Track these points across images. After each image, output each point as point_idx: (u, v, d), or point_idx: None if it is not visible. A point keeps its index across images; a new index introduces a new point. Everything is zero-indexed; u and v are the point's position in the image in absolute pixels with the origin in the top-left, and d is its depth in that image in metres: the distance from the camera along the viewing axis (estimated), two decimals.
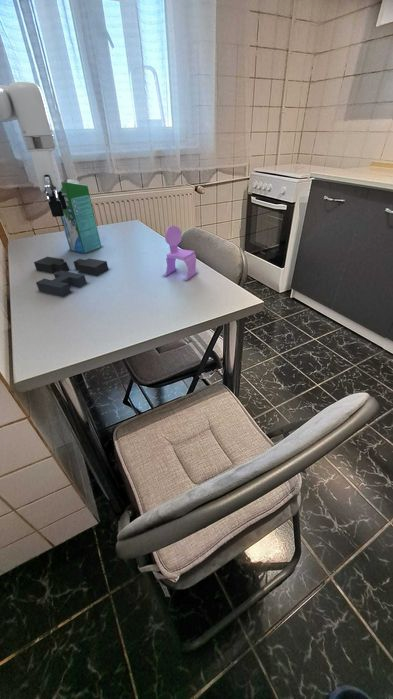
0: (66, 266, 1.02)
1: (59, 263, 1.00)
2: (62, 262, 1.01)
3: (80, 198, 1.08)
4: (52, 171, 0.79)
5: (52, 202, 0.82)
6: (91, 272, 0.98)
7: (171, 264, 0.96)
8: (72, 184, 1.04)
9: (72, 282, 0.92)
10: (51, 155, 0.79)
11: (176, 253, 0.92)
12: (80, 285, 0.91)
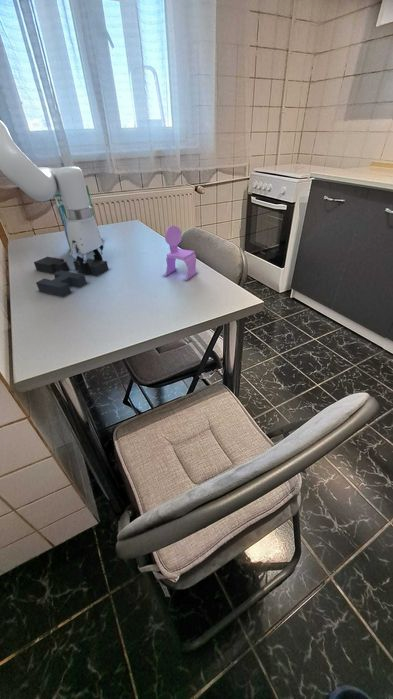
0: (66, 266, 1.02)
1: (59, 263, 1.00)
2: (62, 262, 1.01)
3: None
4: (77, 238, 0.90)
5: (80, 263, 0.96)
6: (91, 272, 0.98)
7: (171, 264, 0.96)
8: None
9: (72, 282, 0.92)
10: (81, 225, 0.89)
11: (176, 253, 0.92)
12: (80, 285, 0.91)
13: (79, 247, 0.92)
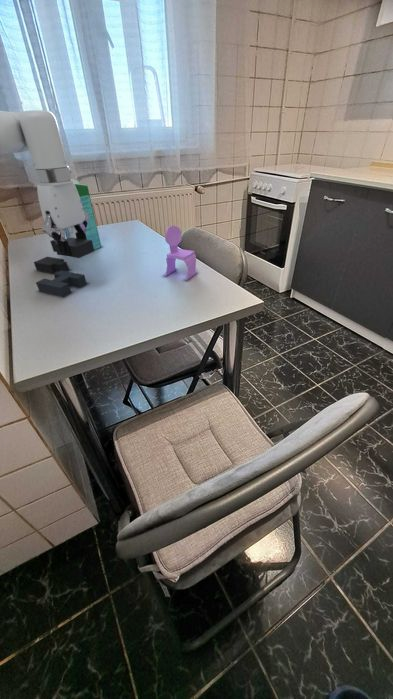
0: (66, 266, 1.02)
1: (59, 263, 1.00)
2: (62, 262, 1.01)
3: (80, 198, 1.08)
4: (52, 208, 0.70)
5: (58, 241, 0.76)
6: (72, 253, 0.78)
7: (171, 264, 0.96)
8: None
9: (72, 282, 0.92)
10: (56, 190, 0.69)
11: (176, 253, 0.92)
12: (80, 285, 0.91)
13: (54, 220, 0.72)
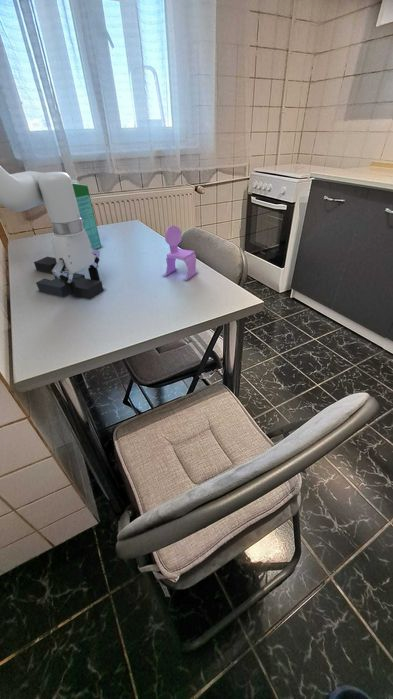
0: None
1: None
2: None
3: (80, 198, 1.08)
4: (66, 256, 0.77)
5: (65, 282, 0.81)
6: (83, 294, 0.85)
7: (171, 264, 0.96)
8: (72, 184, 1.04)
9: None
10: (69, 240, 0.76)
11: (176, 253, 0.92)
12: None
13: (68, 266, 0.78)
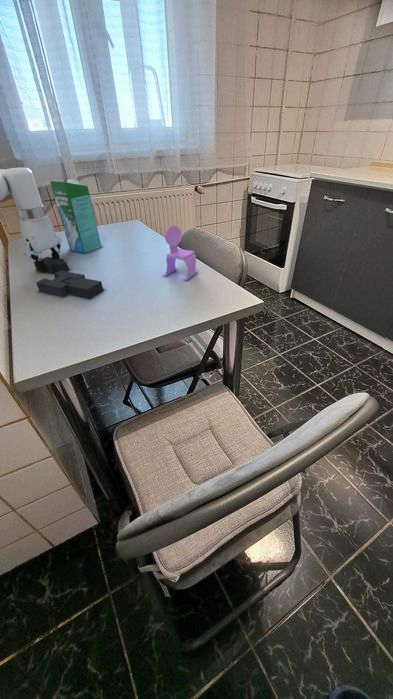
0: (66, 266, 1.02)
1: (59, 263, 1.00)
2: (62, 262, 1.01)
3: (80, 198, 1.08)
4: (30, 237, 0.93)
5: (36, 261, 0.99)
6: (83, 294, 0.85)
7: (171, 264, 0.96)
8: (72, 184, 1.04)
9: None
10: (33, 224, 0.92)
11: (176, 253, 0.92)
12: None
13: (33, 245, 0.95)
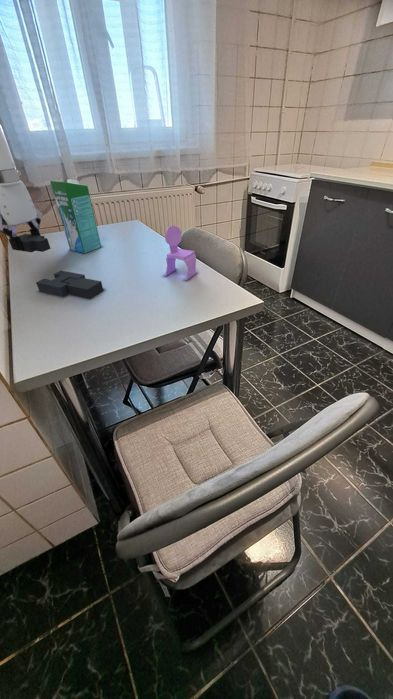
0: (47, 244, 0.86)
1: (38, 240, 0.84)
2: (42, 239, 0.85)
3: (80, 198, 1.08)
4: (1, 206, 0.77)
5: (10, 237, 0.83)
6: (83, 294, 0.85)
7: (171, 264, 0.96)
8: (72, 184, 1.04)
9: None
10: (4, 190, 0.76)
11: (176, 253, 0.92)
12: None
13: (4, 217, 0.79)
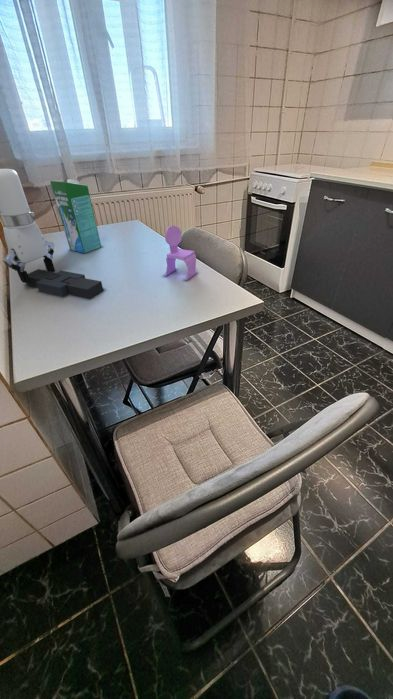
0: None
1: (51, 277, 0.91)
2: (54, 276, 0.91)
3: (80, 198, 1.08)
4: (16, 246, 0.83)
5: (17, 271, 0.87)
6: (83, 294, 0.85)
7: (171, 264, 0.96)
8: (72, 184, 1.04)
9: None
10: (19, 232, 0.82)
11: (176, 253, 0.92)
12: None
13: (19, 256, 0.85)
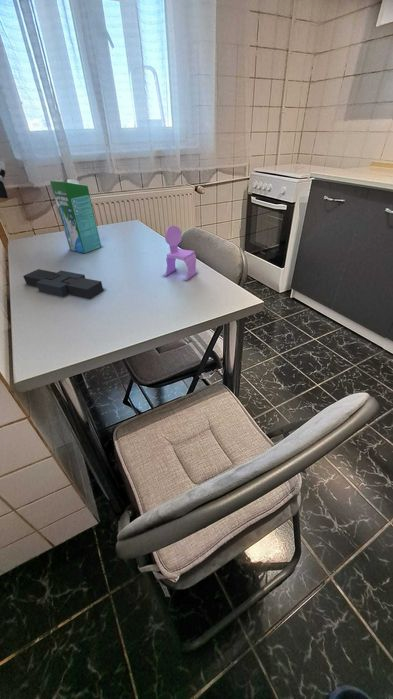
0: None
1: (51, 277, 0.91)
2: (54, 276, 0.91)
3: (80, 198, 1.08)
4: None
5: None
6: (83, 294, 0.85)
7: (171, 264, 0.96)
8: (72, 184, 1.04)
9: None
10: None
11: (176, 253, 0.92)
12: None
13: None
